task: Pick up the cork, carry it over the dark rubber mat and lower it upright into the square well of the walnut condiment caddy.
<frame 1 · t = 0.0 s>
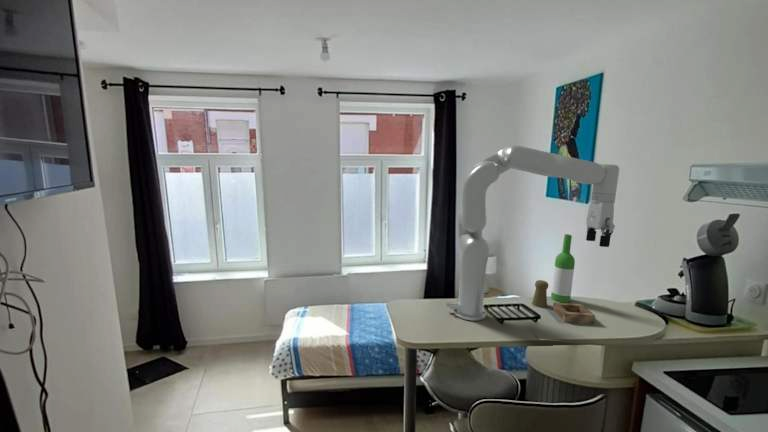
hand: (597, 243, 136), 31 cm above the table, fingers open, 9 cm apart
wine bottle: (560, 300, 162), on the table
cork: (539, 306, 155), on the table
caddy: (572, 317, 143), resting on mat
mat: (569, 317, 144), on the table
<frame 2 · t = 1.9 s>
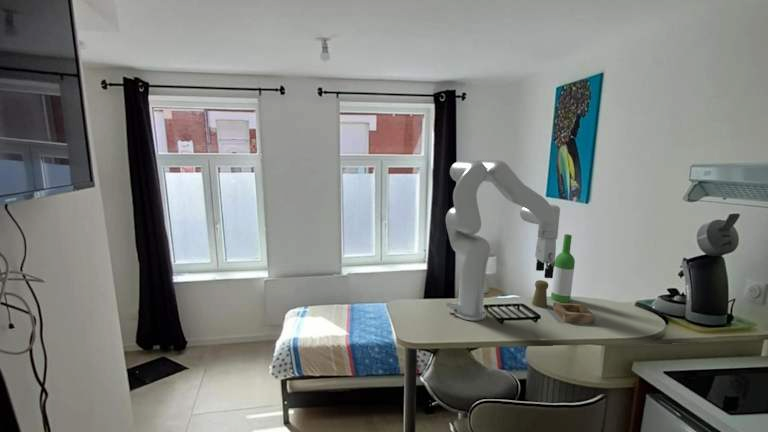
hand: (544, 274, 153), 14 cm above the table, fingers open, 9 cm apart
nothing on the table moved.
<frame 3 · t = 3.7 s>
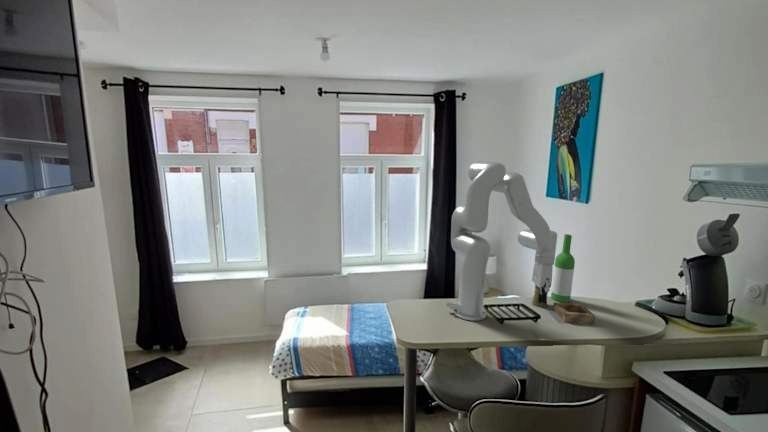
hand: (540, 300, 155), 2 cm above the table, fingers closed on cork, 4 cm apart
cork: (539, 306, 155), on the table, touching gripper
everything else where it was.
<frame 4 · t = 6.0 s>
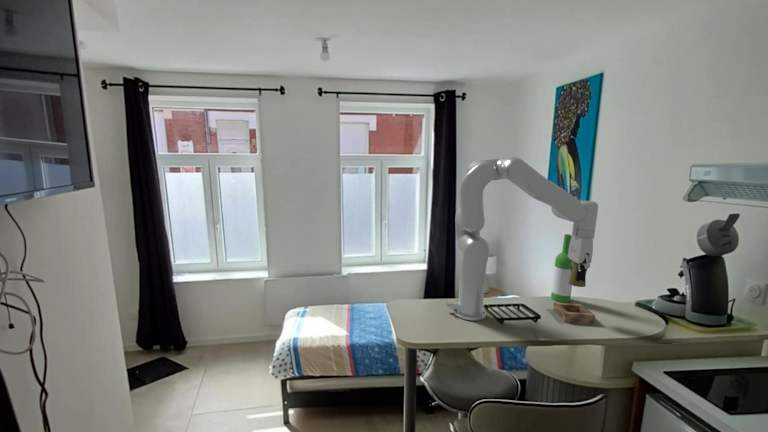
hand: (577, 278, 141), 16 cm above the table, fingers closed on cork, 4 cm apart
cork: (576, 284, 141), point 14 cm above the table, touching gripper
everything else where it was.
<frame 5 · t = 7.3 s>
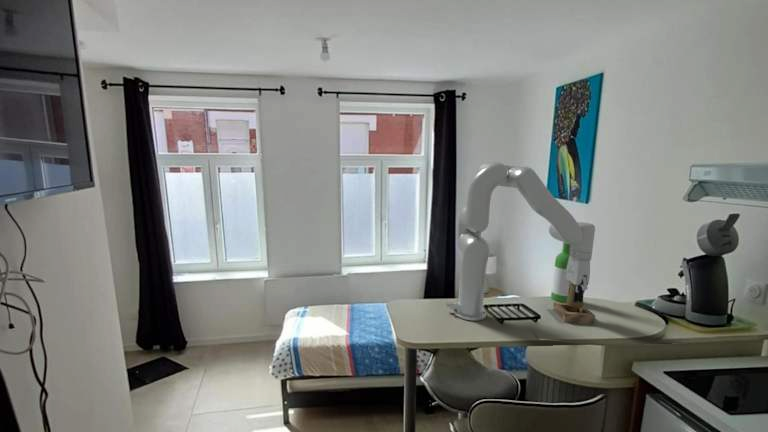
hand: (575, 299, 142), 8 cm above the table, fingers closed on cork, 4 cm apart
cork: (574, 305, 143), point 5 cm above the table, touching gripper
everything else where it was.
when the fingers open (5 cm above the table, at t = 8.3 s): cork stays where it is, resting on caddy.
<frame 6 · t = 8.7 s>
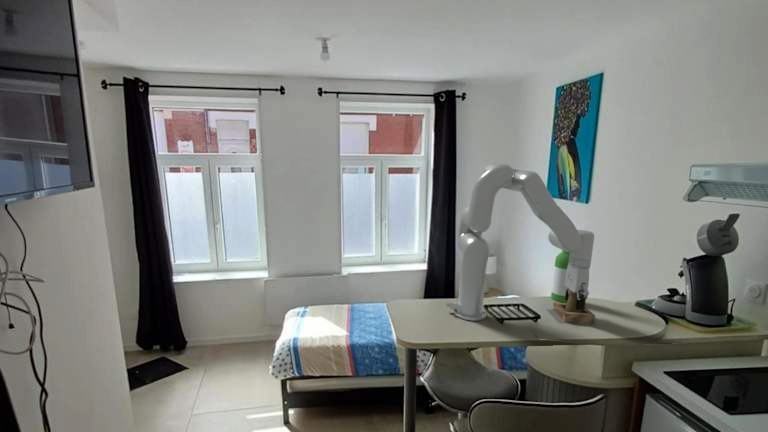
hand: (574, 304, 143), 6 cm above the table, fingers open, 8 cm apart
cork: (572, 315, 143), point 1 cm above the table, touching caddy
everything else where it was.
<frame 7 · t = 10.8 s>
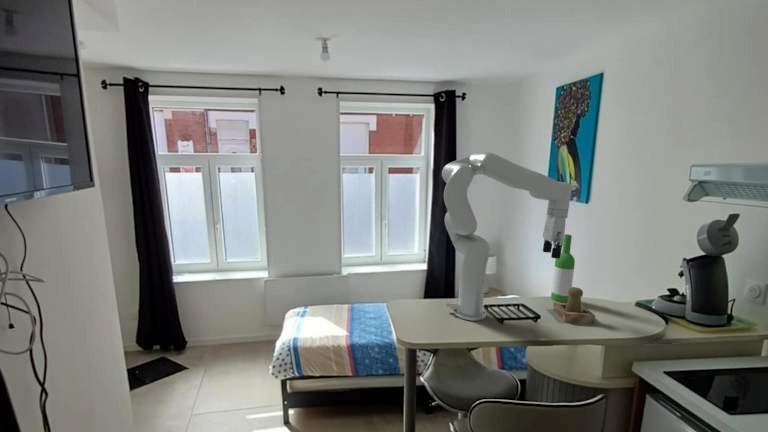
hand: (551, 255, 146), 24 cm above the table, fingers open, 9 cm apart
nothing on the table moved.
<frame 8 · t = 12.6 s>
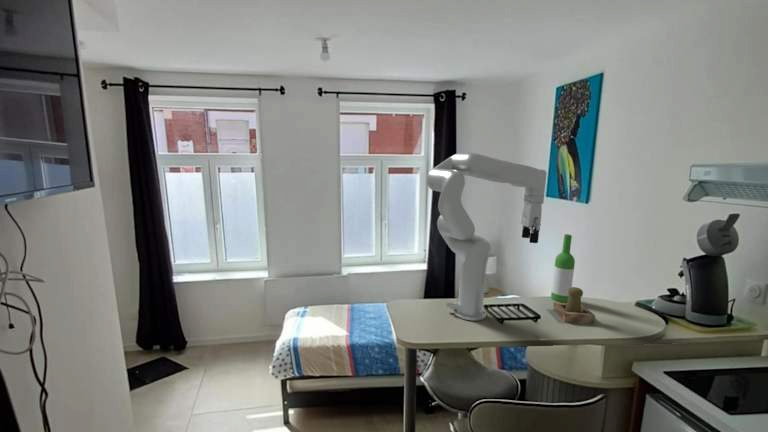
hand: (529, 240, 151), 28 cm above the table, fingers open, 9 cm apart
nothing on the table moved.
at the end: cork 0.2 cm off-centre on the caddy, point 0.8 cm above the caddy's base; cork tilted 0°; the gripper is holding nothing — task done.
